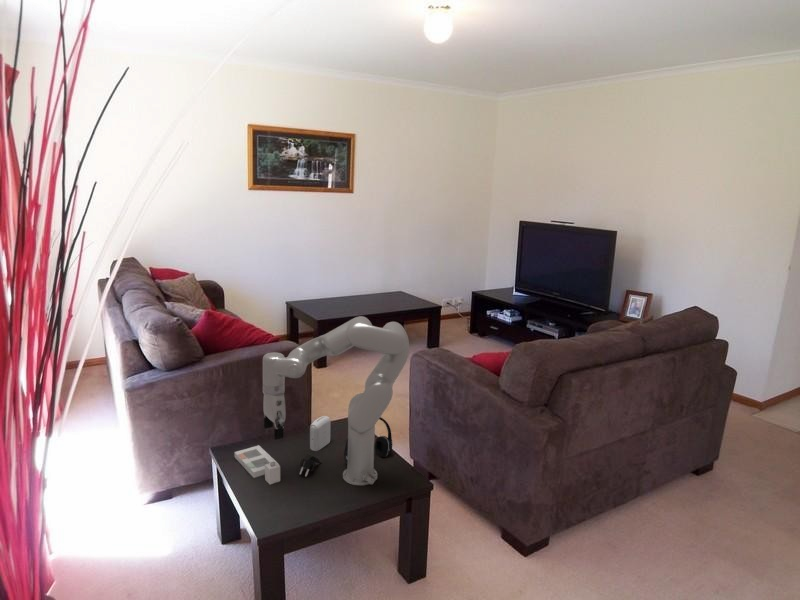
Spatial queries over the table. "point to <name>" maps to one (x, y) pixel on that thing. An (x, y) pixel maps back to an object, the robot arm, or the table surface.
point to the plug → (272, 472)
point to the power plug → (308, 463)
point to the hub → (254, 460)
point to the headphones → (378, 444)
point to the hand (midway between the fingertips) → (273, 433)
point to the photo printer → (320, 433)
